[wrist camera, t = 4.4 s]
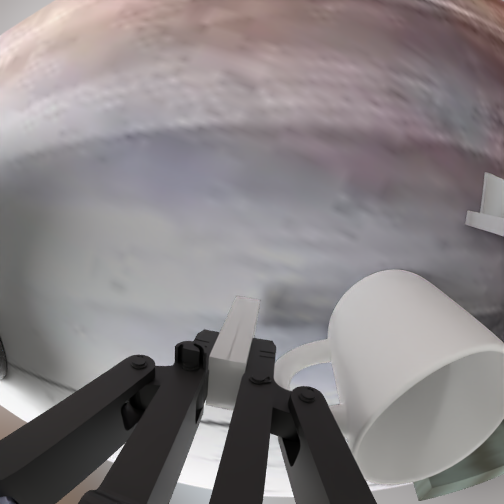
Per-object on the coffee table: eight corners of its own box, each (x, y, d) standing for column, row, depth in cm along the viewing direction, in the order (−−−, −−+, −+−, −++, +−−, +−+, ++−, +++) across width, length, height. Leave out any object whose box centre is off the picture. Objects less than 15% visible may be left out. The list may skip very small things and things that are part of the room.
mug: (275, 384, 20) (264, 504, 10) (262, 279, 18) (236, 385, 8) (428, 362, 18) (486, 454, 8) (439, 258, 17) (541, 322, 7)
